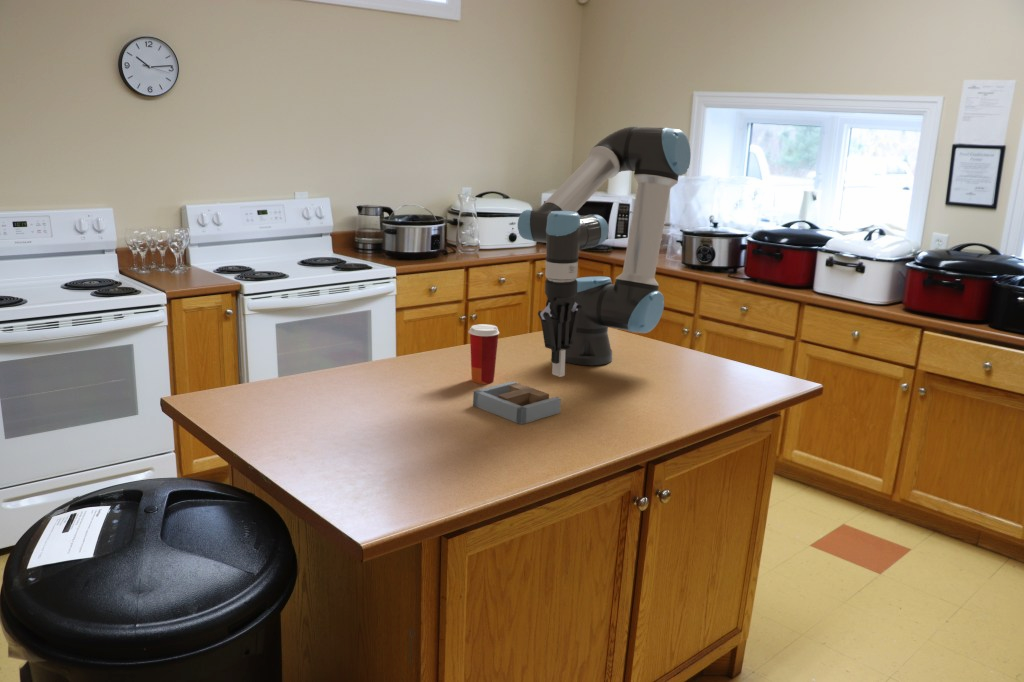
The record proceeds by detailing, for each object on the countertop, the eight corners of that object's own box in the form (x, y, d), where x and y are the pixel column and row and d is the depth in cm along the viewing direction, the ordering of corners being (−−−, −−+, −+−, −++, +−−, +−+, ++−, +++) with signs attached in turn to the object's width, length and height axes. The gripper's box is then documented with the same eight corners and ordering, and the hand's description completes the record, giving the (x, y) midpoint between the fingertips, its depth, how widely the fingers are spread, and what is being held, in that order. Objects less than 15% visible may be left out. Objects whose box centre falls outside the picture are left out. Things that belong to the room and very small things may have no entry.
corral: (473, 405, 196) (473, 391, 195) (512, 395, 204) (512, 381, 203) (521, 424, 185) (521, 409, 184) (560, 412, 193) (560, 398, 192)
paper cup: (499, 377, 218) (501, 324, 214) (495, 386, 211) (497, 331, 207) (469, 375, 219) (470, 322, 215) (464, 384, 211) (466, 329, 208)
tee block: (548, 410, 195) (549, 393, 194) (517, 419, 188) (517, 402, 187) (518, 399, 202) (518, 383, 201) (487, 407, 195) (487, 391, 194)
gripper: (553, 285, 189) (550, 384, 196) (592, 277, 198) (588, 373, 204) (530, 279, 194) (528, 377, 201) (568, 272, 203) (565, 365, 209)
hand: (558, 374), depth 203 cm, fingers closed
